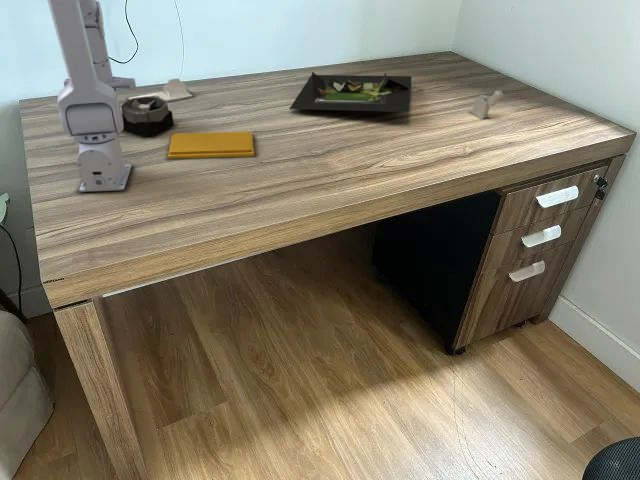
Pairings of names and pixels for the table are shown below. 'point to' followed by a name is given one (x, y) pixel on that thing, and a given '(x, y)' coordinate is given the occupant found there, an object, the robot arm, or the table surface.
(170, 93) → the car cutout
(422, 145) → the table surface
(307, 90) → the black plate with food
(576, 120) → the table surface
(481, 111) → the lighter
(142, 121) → the cpu cooler
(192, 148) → the tray
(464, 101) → the table surface
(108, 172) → the robot arm
